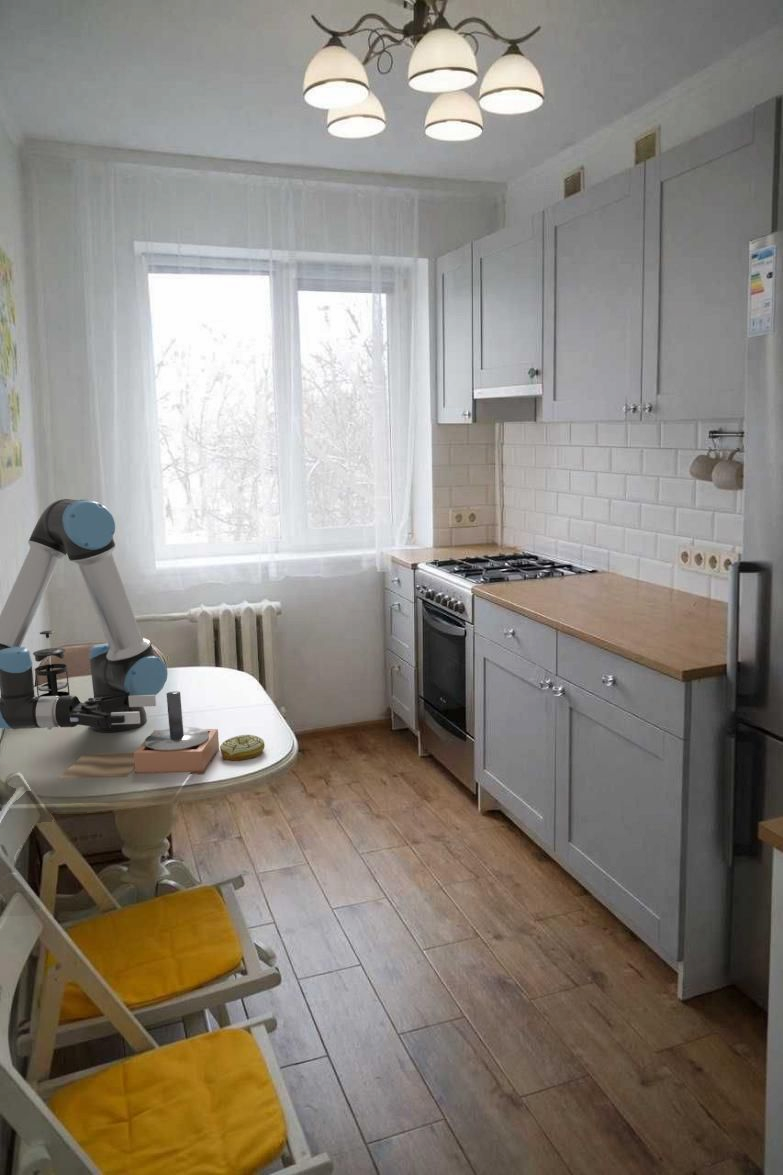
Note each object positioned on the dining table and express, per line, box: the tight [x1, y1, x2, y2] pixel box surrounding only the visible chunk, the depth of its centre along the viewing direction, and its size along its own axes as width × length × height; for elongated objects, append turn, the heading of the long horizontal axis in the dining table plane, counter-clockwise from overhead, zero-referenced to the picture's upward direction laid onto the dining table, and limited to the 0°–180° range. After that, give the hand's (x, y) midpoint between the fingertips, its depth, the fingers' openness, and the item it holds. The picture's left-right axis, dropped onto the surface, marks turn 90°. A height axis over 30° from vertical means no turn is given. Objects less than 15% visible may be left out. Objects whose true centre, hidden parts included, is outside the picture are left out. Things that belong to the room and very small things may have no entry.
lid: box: [144, 690, 209, 751], centre depth 213 cm, size 15×15×12 cm
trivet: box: [58, 751, 135, 779], centre depth 214 cm, size 16×16×1 cm
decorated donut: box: [219, 734, 266, 761], centre depth 219 cm, size 10×11×4 cm
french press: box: [32, 630, 71, 697], centre depth 265 cm, size 12×9×23 cm
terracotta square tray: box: [133, 728, 220, 775], centre depth 215 cm, size 16×16×6 cm
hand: (147, 708), depth 214 cm, fingers open, 13 cm apart
